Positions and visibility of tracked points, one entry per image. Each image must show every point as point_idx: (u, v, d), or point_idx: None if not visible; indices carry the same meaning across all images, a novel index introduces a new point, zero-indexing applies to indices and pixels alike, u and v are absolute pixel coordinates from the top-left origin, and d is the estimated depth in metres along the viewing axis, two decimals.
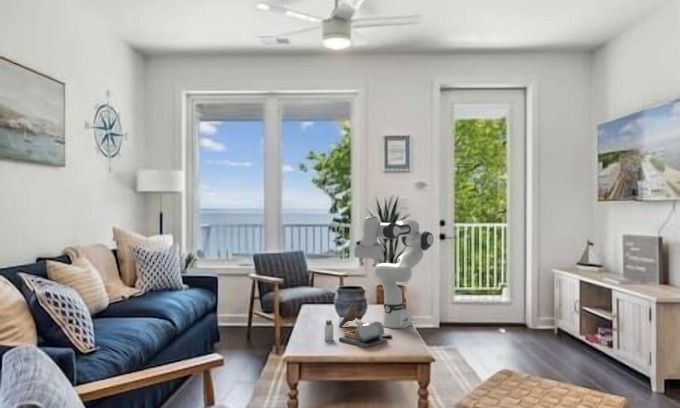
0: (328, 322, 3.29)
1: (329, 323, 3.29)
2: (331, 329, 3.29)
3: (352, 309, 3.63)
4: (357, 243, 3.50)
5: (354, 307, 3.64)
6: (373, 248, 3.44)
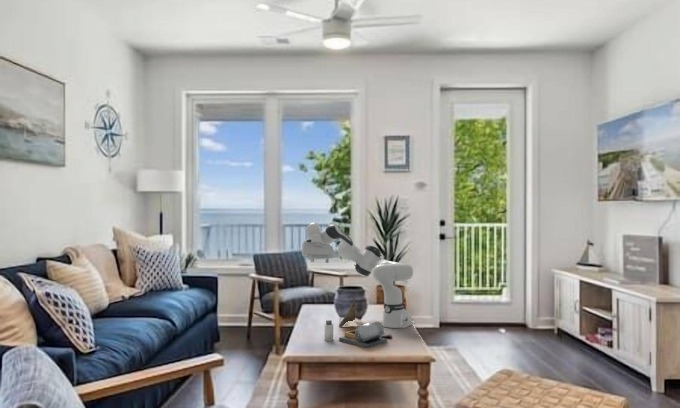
0: (328, 322, 3.29)
1: (329, 323, 3.29)
2: (331, 329, 3.29)
3: (352, 309, 3.63)
4: (307, 241, 3.56)
5: (354, 307, 3.64)
6: (325, 246, 3.60)
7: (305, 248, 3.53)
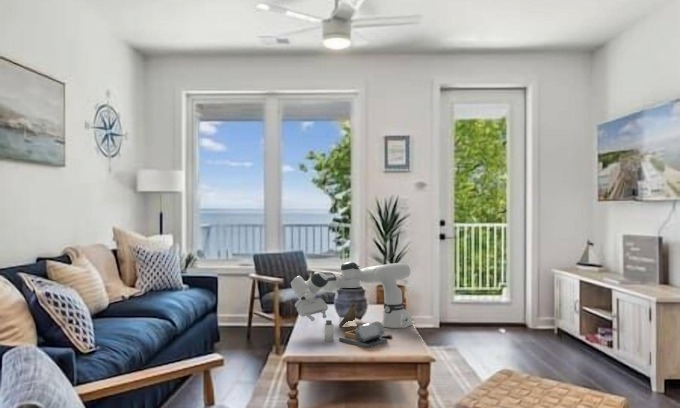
0: (328, 322, 3.29)
1: (329, 323, 3.29)
2: (331, 329, 3.29)
3: (352, 309, 3.63)
4: (302, 299, 3.35)
5: (354, 307, 3.64)
6: (317, 300, 3.43)
7: (303, 307, 3.32)
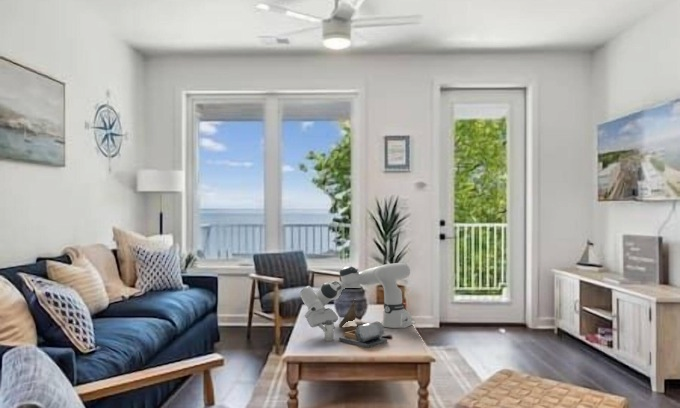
0: (328, 322, 3.29)
1: (329, 323, 3.29)
2: (331, 329, 3.29)
3: (352, 309, 3.63)
4: (312, 309, 3.30)
5: (354, 307, 3.64)
6: (327, 311, 3.38)
7: (313, 318, 3.27)
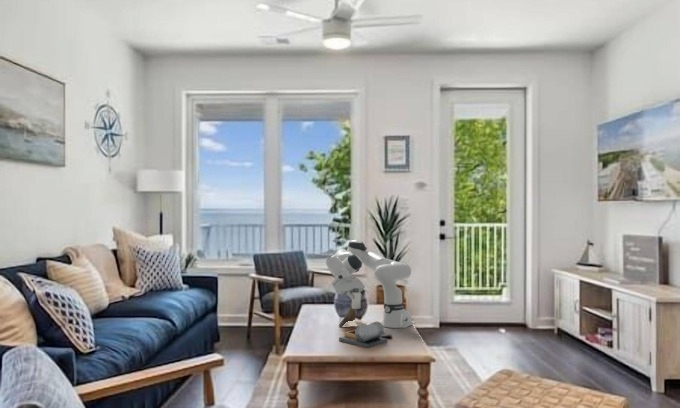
0: (355, 290, 3.28)
1: (356, 291, 3.28)
2: (358, 297, 3.27)
3: (352, 309, 3.63)
4: (339, 277, 3.29)
5: None
6: (354, 280, 3.36)
7: (340, 285, 3.26)
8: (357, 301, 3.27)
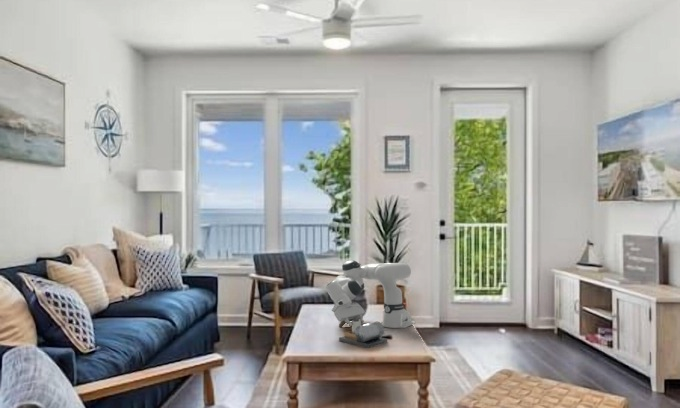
0: (355, 319, 3.28)
1: (356, 320, 3.28)
2: None
3: None
4: (339, 303, 3.29)
5: None
6: (354, 305, 3.37)
7: (340, 312, 3.26)
8: None
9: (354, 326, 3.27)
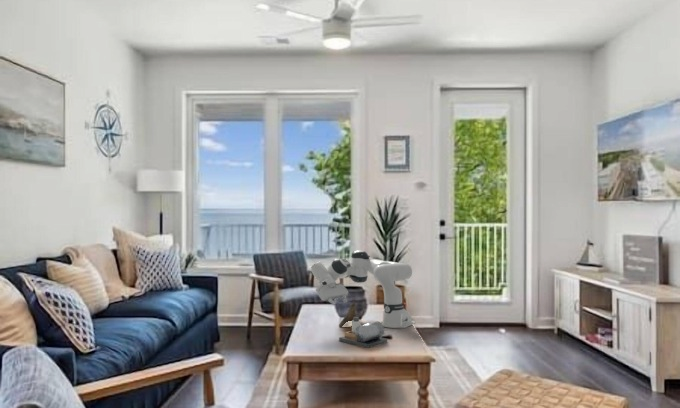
0: (355, 319, 3.28)
1: (356, 320, 3.28)
2: None
3: (352, 309, 3.63)
4: (323, 283, 3.38)
5: (354, 307, 3.64)
6: (338, 286, 3.45)
7: (324, 292, 3.35)
8: None
9: (354, 326, 3.27)
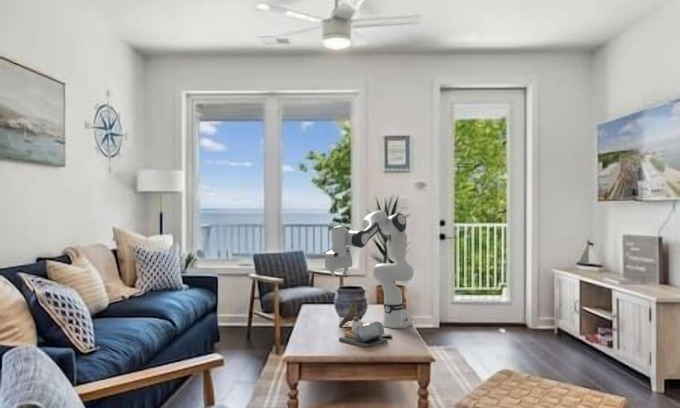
0: (355, 319, 3.28)
1: (356, 320, 3.28)
2: None
3: (352, 309, 3.63)
4: (334, 255, 3.39)
5: (354, 307, 3.64)
6: (346, 257, 3.48)
7: (331, 263, 3.39)
8: None
9: (354, 326, 3.27)
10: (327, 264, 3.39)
